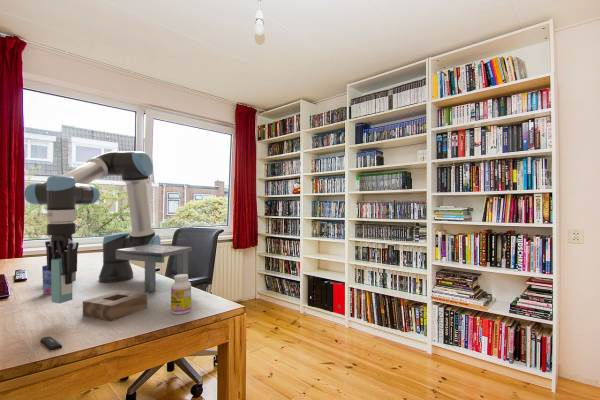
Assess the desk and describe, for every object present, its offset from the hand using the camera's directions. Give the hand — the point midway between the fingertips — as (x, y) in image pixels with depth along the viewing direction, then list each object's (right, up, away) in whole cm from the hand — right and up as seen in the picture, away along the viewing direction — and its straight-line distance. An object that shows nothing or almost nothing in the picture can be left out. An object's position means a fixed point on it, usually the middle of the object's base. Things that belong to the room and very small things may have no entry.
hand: (62, 292), depth 102 cm
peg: (0, -3, 0) cm, 3 cm away
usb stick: (+11, -9, -19) cm, 24 cm away
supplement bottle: (+37, -9, +6) cm, 39 cm away
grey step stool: (+20, -9, +23) cm, 32 cm away
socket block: (+14, -9, +7) cm, 18 cm away
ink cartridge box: (-28, -9, +33) cm, 44 cm away
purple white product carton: (-38, -10, +50) cm, 64 cm away
